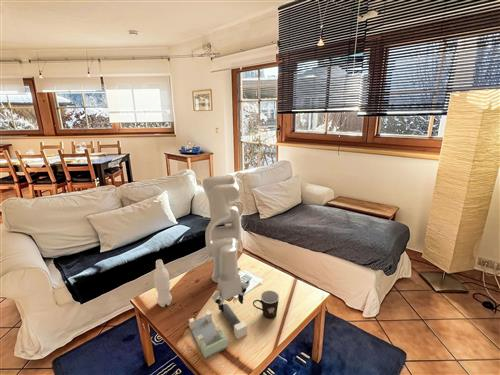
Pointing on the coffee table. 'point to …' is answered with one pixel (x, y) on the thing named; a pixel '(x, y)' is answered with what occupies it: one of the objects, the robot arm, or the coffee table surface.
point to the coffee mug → (269, 304)
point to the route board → (208, 335)
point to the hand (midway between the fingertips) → (231, 306)
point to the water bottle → (162, 284)
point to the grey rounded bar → (235, 322)
